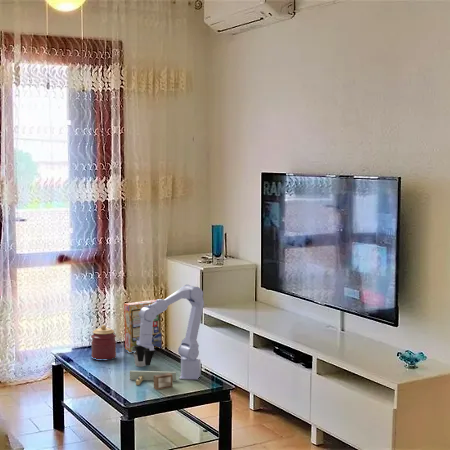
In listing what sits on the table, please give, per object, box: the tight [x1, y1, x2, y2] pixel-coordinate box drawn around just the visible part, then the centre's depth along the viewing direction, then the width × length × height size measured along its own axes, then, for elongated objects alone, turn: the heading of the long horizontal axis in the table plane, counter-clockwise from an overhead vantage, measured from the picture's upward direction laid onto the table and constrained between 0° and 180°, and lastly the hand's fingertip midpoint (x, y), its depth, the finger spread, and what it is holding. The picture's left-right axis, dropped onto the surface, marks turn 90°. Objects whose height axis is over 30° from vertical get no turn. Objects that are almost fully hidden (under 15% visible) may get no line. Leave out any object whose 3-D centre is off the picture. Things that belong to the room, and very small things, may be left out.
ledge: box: [129, 370, 177, 386], centre depth 337 cm, size 22×10×4 cm, turn 85°
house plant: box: [130, 336, 155, 368], centre depth 366 cm, size 14×14×16 cm
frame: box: [153, 373, 174, 391], centre depth 328 cm, size 8×3×6 cm, turn 120°
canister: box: [90, 324, 117, 360], centre depth 382 cm, size 13×13×18 cm
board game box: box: [123, 299, 163, 352], centre depth 399 cm, size 20×6×27 cm, turn 126°
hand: (144, 363), depth 332 cm, fingers open, 7 cm apart
